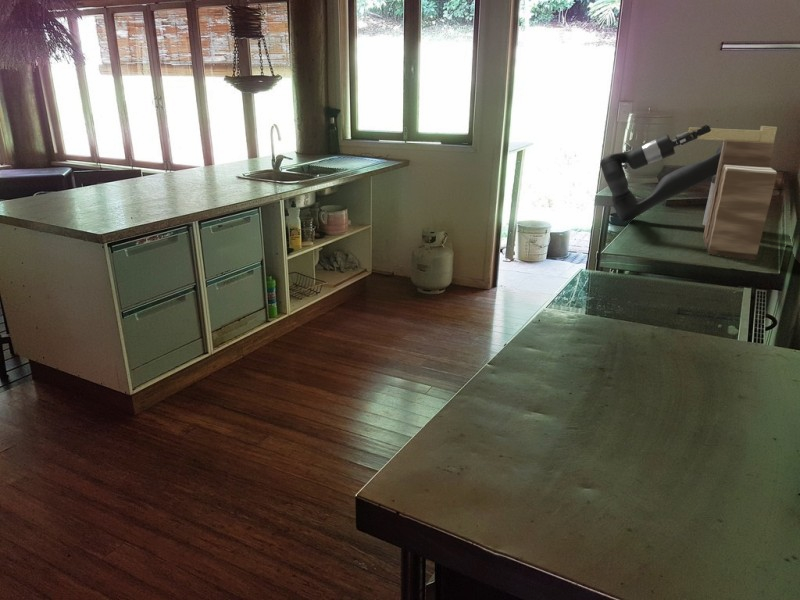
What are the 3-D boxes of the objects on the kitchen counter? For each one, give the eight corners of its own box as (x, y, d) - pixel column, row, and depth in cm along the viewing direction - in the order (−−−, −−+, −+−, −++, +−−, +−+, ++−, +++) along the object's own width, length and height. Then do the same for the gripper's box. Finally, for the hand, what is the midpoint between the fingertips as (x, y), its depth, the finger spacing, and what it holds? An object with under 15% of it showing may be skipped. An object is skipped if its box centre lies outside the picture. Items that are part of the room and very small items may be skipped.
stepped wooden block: (702, 237, 215) (723, 138, 203) (744, 242, 210) (769, 141, 198) (708, 254, 193) (732, 144, 180) (755, 260, 188) (783, 147, 175)
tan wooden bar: (687, 137, 204) (689, 123, 202) (770, 141, 195) (774, 126, 193) (687, 138, 200) (690, 123, 198) (773, 142, 191) (777, 127, 189)
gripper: (660, 157, 213) (710, 136, 205) (662, 161, 200) (715, 139, 193) (653, 138, 212) (703, 116, 204) (654, 141, 199) (707, 118, 191)
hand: (708, 127), depth 198 cm, fingers open, 4 cm apart
